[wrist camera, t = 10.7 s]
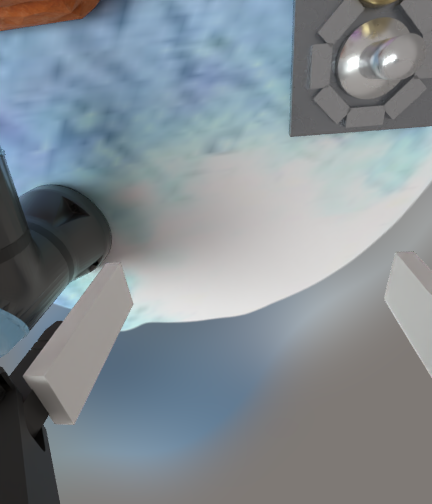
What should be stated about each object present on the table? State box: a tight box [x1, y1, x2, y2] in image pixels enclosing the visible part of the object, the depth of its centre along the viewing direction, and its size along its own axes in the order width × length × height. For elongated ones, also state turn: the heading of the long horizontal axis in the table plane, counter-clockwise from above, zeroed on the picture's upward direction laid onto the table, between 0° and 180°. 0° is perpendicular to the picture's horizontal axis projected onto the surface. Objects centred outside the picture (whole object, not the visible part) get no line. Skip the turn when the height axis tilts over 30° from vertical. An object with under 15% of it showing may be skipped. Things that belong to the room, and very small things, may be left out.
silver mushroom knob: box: [335, 17, 426, 99], centre depth 28 cm, size 7×7×8 cm
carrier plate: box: [289, 0, 432, 137], centre depth 30 cm, size 16×22×3 cm
